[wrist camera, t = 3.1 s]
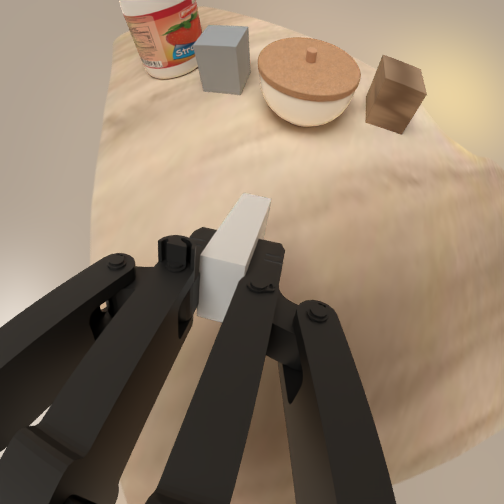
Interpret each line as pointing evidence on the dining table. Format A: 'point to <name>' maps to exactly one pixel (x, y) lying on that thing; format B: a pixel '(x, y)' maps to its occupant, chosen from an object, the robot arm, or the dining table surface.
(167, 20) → the fruit juice
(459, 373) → the dining table surface
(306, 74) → the lidded jar
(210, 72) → the grey block
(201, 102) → the dining table surface
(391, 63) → the walnut block
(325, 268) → the dining table surface
